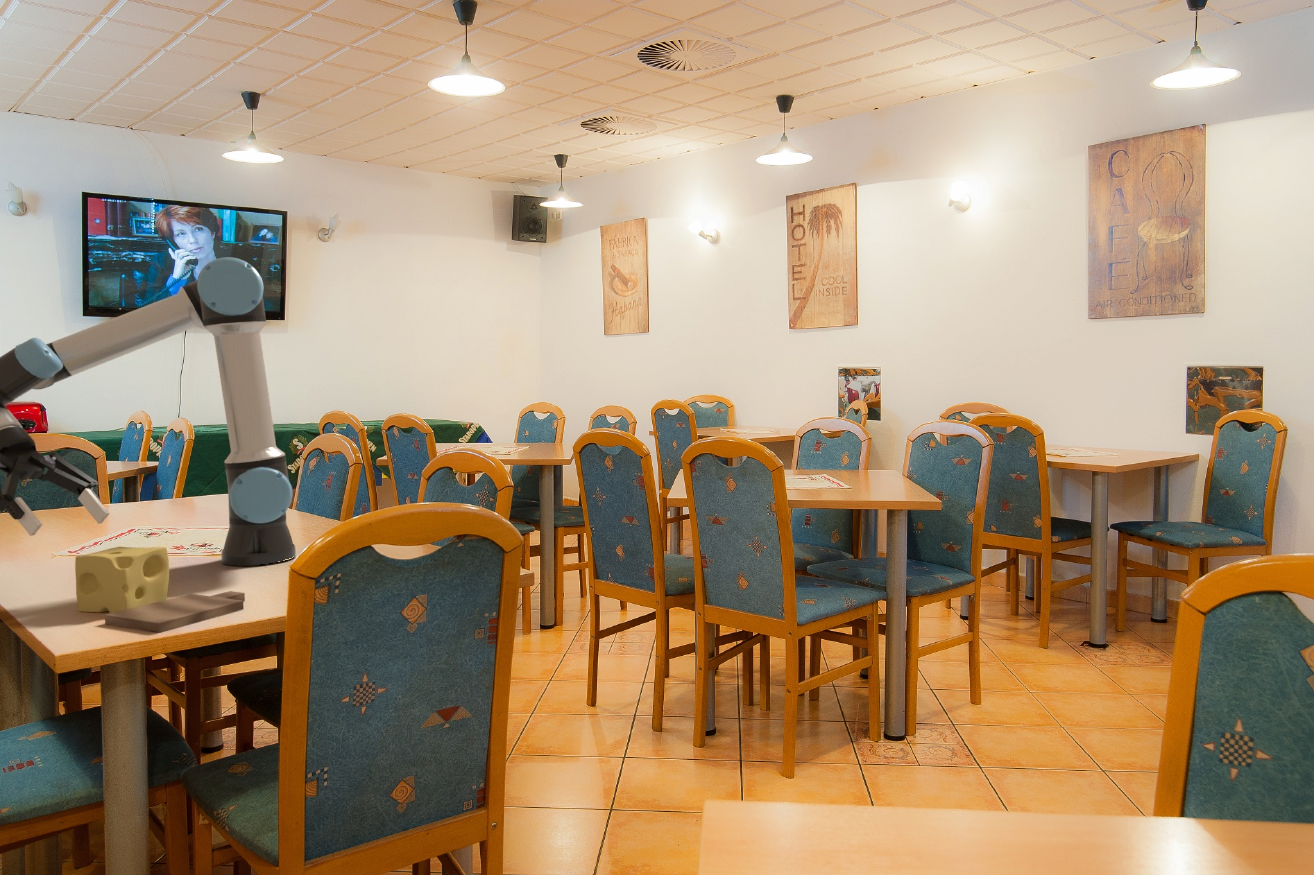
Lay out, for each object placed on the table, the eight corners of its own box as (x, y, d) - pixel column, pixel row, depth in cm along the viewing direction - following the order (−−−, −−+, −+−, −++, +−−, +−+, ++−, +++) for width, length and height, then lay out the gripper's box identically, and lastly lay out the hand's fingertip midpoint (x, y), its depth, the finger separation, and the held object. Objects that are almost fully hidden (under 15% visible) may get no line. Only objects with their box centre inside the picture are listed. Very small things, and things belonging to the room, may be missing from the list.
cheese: (126, 615, 152) (124, 557, 151) (72, 612, 154) (70, 555, 153) (171, 601, 162) (169, 546, 161) (120, 598, 164) (118, 544, 163)
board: (212, 596, 165) (212, 588, 164) (263, 603, 159) (263, 595, 159) (105, 623, 146) (104, 614, 146) (158, 632, 141) (158, 623, 141)
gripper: (53, 448, 175) (118, 527, 172) (-81, 458, 151) (-8, 550, 148) (74, 421, 173) (140, 501, 171) (-58, 428, 149) (16, 520, 146)
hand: (71, 524), depth 159 cm, fingers open, 13 cm apart
